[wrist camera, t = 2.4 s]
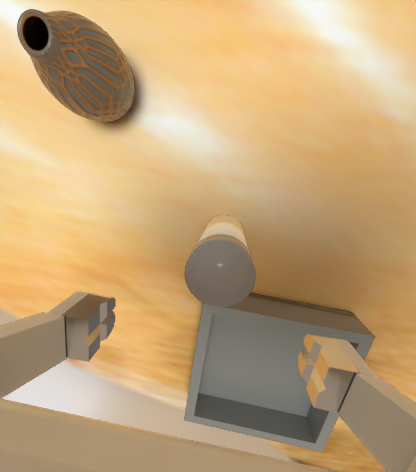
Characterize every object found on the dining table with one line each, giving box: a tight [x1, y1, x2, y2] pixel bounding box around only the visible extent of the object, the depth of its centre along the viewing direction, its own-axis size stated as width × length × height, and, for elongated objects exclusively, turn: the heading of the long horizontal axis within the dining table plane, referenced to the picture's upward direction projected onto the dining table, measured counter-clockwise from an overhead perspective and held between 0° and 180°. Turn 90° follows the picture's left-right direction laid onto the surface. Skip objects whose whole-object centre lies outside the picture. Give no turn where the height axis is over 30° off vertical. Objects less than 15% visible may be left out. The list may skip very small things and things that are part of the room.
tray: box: [184, 293, 375, 452], centre depth 25 cm, size 18×18×4 cm
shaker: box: [185, 215, 255, 307], centre depth 18 cm, size 5×5×11 cm
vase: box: [17, 9, 135, 122], centre depth 17 cm, size 7×7×9 cm
